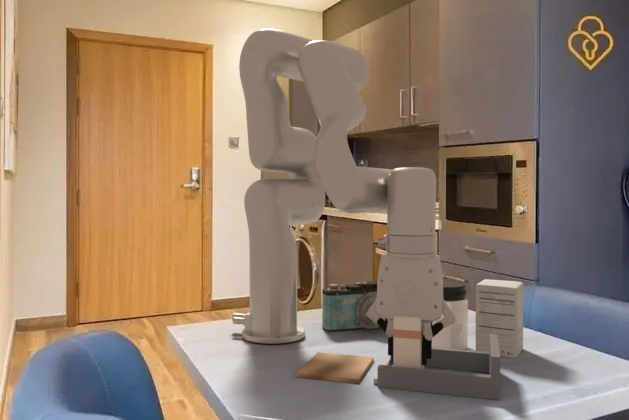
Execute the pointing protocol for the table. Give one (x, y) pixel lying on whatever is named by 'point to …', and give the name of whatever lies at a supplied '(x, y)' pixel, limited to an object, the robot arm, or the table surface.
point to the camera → (348, 306)
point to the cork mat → (336, 367)
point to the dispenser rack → (448, 373)
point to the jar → (458, 304)
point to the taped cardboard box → (407, 342)
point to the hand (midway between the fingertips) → (409, 360)
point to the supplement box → (500, 315)
